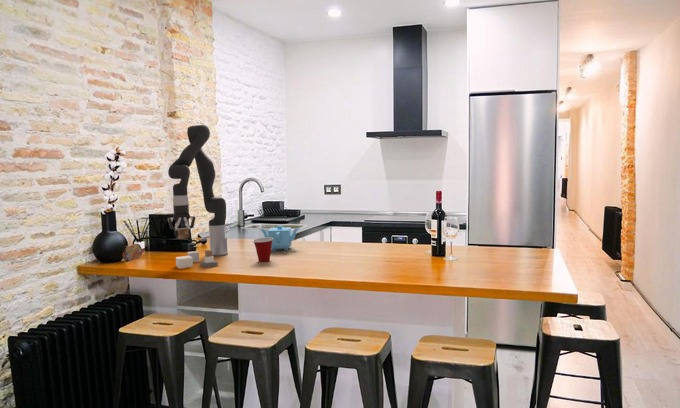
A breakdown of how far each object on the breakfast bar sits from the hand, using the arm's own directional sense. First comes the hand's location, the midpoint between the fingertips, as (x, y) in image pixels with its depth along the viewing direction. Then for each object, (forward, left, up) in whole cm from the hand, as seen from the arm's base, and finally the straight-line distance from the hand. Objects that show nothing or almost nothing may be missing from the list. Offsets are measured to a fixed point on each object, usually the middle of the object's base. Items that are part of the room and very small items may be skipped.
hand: (182, 236), depth 262 cm
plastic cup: (-39, +11, -16) cm, 44 cm away
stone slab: (+21, -39, -16) cm, 47 cm away
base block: (0, +1, -16) cm, 16 cm away
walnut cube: (0, 0, -1) cm, 1 cm away
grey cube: (-7, -12, -16) cm, 21 cm away
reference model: (-11, +6, -15) cm, 20 cm away
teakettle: (-60, -17, -16) cm, 65 cm away
